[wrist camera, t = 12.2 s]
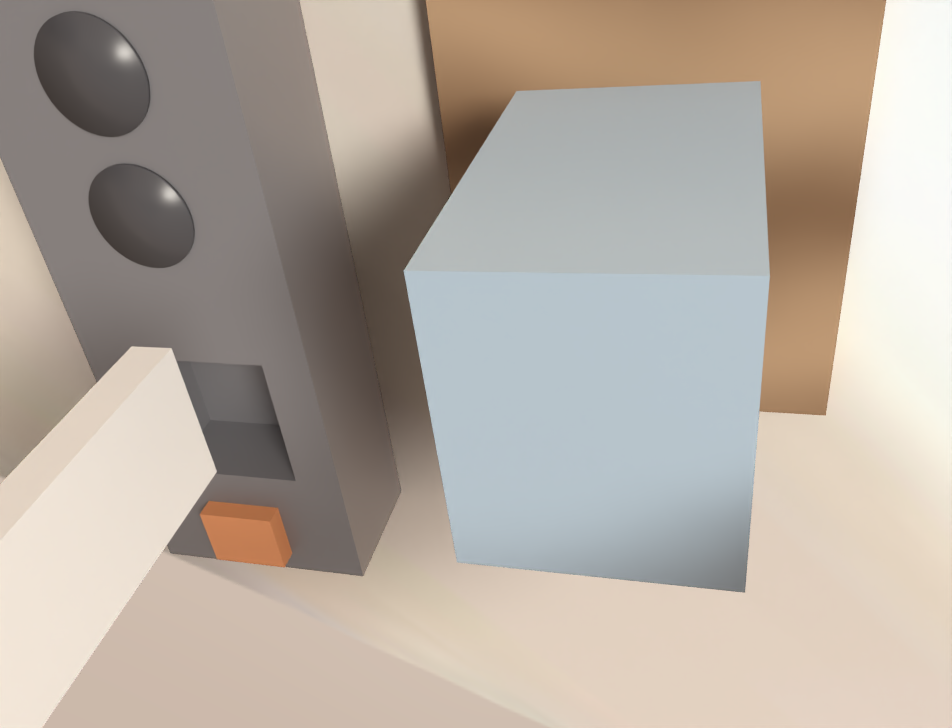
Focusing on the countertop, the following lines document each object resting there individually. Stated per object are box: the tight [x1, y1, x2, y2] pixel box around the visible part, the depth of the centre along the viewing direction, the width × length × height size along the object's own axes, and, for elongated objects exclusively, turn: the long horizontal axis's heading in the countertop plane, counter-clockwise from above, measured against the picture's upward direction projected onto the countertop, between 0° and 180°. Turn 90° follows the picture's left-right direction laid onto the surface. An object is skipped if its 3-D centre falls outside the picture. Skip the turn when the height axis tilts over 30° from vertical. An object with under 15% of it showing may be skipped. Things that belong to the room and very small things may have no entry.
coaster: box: [426, 0, 886, 415], centre depth 22 cm, size 14×10×1 cm
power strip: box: [0, 0, 401, 576], centre depth 22 cm, size 29×7×5 cm, turn 6°
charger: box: [404, 81, 770, 592], centre depth 18 cm, size 6×5×10 cm
